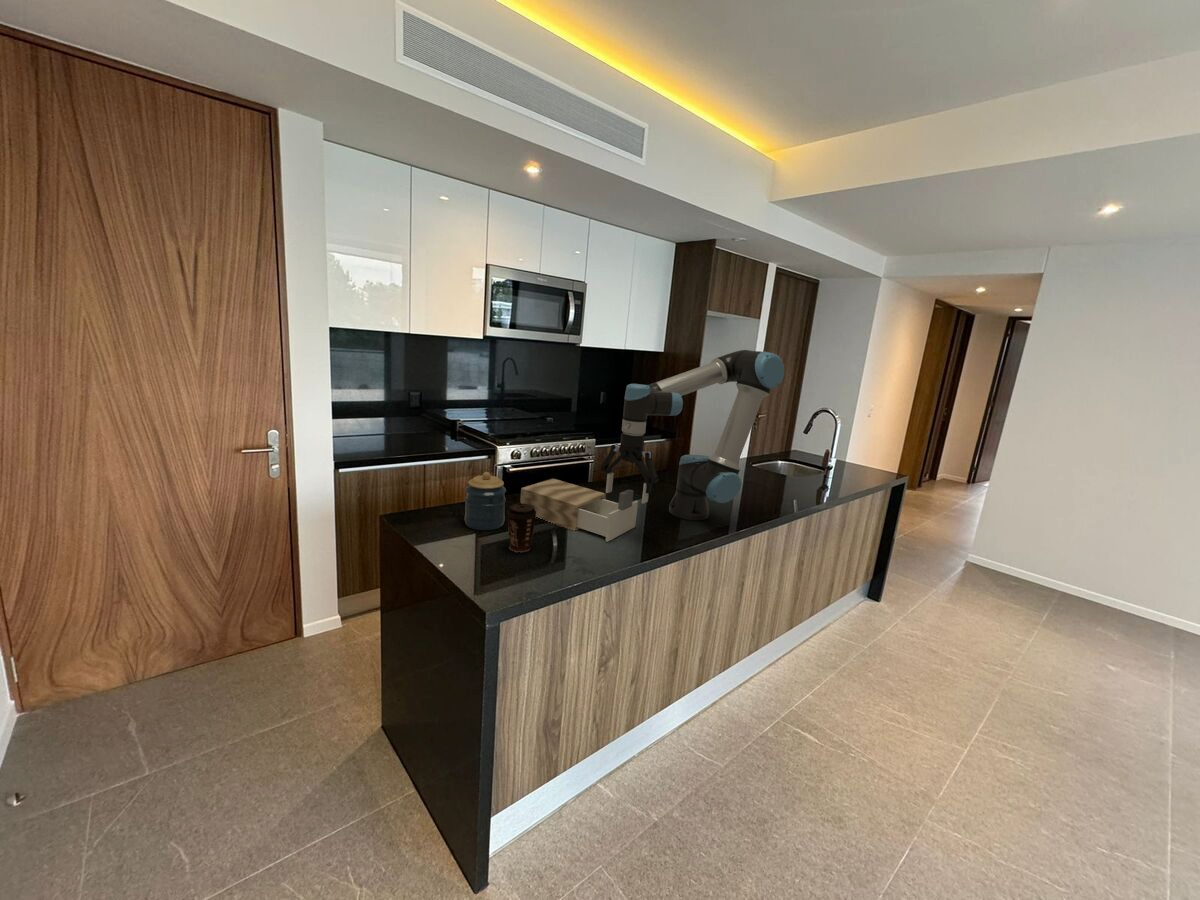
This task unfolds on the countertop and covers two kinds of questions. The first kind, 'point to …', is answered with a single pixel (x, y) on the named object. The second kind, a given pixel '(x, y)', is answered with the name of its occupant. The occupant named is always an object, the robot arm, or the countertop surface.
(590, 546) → the countertop surface
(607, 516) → the tray
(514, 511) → the coffee cup
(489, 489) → the canister
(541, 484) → the mailer sleeve
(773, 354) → the robot arm
